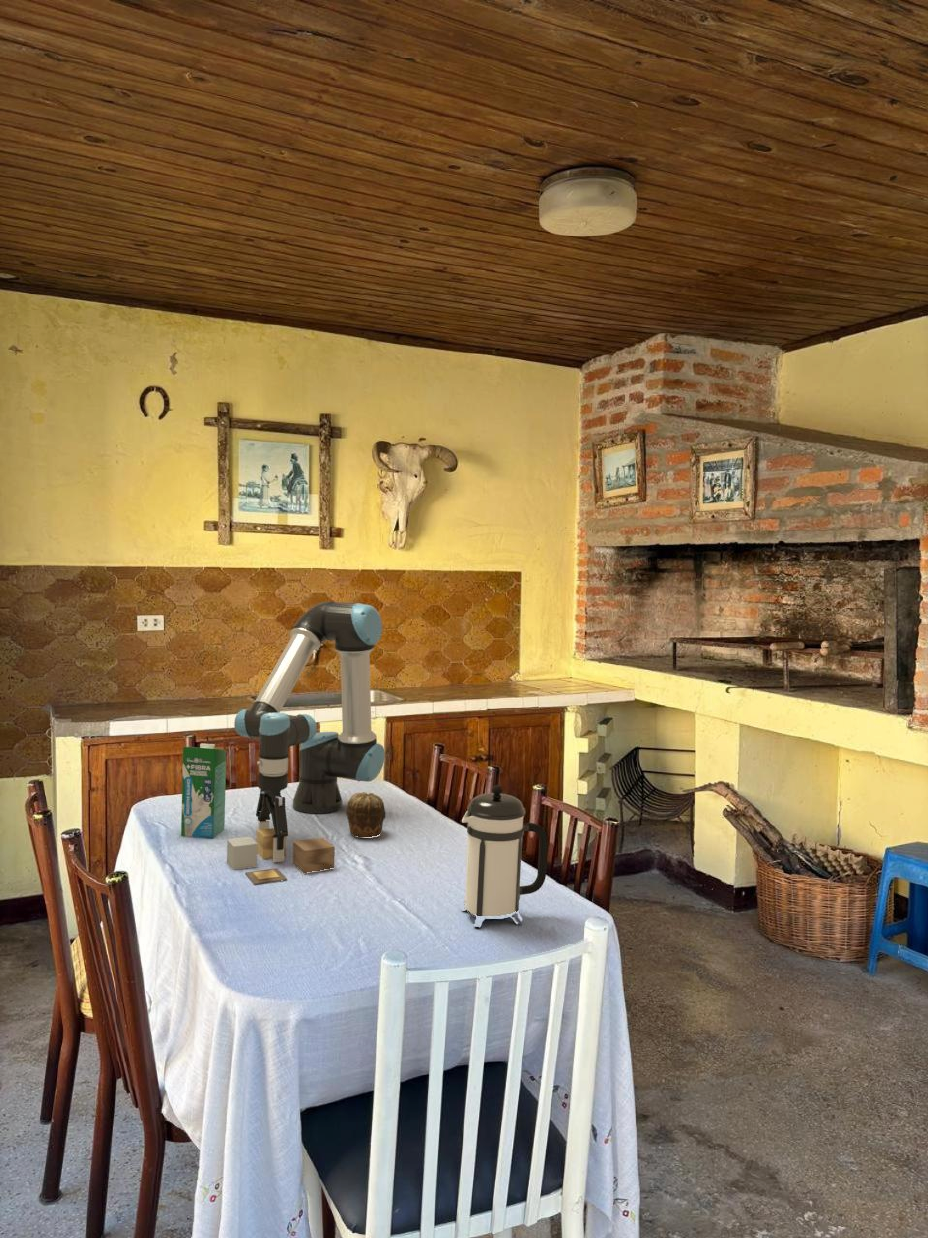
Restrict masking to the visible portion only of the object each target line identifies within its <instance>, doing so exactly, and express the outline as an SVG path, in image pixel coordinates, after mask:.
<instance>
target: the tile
mask: <svg viewBox="0 0 928 1238" xmlns="http://www.w3.org/2000/svg"><path fill="white" fill-rule="evenodd" d="M245 875H246V877H247V878H248V879H249V880H250V881H251V883H252V884H253V885H254V886H259V885H264V884H263V883H266V884H271V883H270V882H273V883H275V882H274V881H280V882H282V881H281V880H287V881H288V878H287V877H286V876H285V875H284V873H282V872H281V870H280V869H279V868H278V867H277V868H270V869H269V868H268V869H261V870H254V871H245ZM267 882H269V883H267ZM258 884H259V885H258Z"/></svg>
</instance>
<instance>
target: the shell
mask: <svg viewBox="0 0 928 1238" xmlns="http://www.w3.org/2000/svg"><path fill="white" fill-rule="evenodd" d="M385 818H386V809H385V803H384V801H383V799H382V797H380V796H379V795H378V794H374V793H372V792H369V793H367V792H364V791H363V792H356V793H354V794H353V795H351V797H350V798H349V800H348V801H347V806H346V819H347V820H348V821H347V822H348V827H349V833H350V834H351V835H352V834H353V835H354V836H353V835H352V836H353V837H355V836H358V837H372V836H377V835H379V834H380V833H382V831H383V824H384V820H385ZM380 835H381V834H380Z"/></svg>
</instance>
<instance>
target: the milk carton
mask: <svg viewBox="0 0 928 1238" xmlns="http://www.w3.org/2000/svg"><path fill="white" fill-rule="evenodd" d="M215 747H216V744H214V743H213V744H212V743H200V745H199V747H196V746H183V747H182V773H181V774H182V776H181V777H182V779H181V781H182V782H181V784H182V785H181V819H180V820H181V821H180V822H181V823H180V825H181V826H180V828H181V830H180V836H181V837H185V838H186V837H188V838H199V839H201V838H202V839H214V838H215V837H216V836H217V835H219V833H221V832H223V830H225V827H226V826H225V821H226V820H225V819H226V815H225V814H226V785H227V784H226V782H227V781H226V779H227V749H220V748H215Z"/></svg>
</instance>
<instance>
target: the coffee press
mask: <svg viewBox="0 0 928 1238" xmlns="http://www.w3.org/2000/svg"><path fill="white" fill-rule="evenodd" d="M503 790H504V789H503V788H502V786H501V785H499V784H495V785H494V786H492V788H491V791H492V792H488V793H482V794H478V795H477V796H475V797H473V798H472V799H471V800H470V803H469V804H468V805H467V809H466V812H465V814H464V815H463V817H462V819H461V822H462V823H466V827H467V828H466V833H467V848H466V850H467V852H466V870H465V889H464V891H465V894H464V898H465V899H464V902H465V904H464V908H465V909H467V911H466V912H468V911H469V912H470V913H472V914H476V915H477V916H501V915H506V914H511V913H513V912H515V911H516V912H517V911H518V910H519V911H520V909H519V907H520V899H521V896H522V895H528V894H533V893H536V892H537V891H539V890H540V889H541V888H542V887H543V885H544V883H545V881H546V877H547V868H548V845H549V844H548V837H547V834H546V831H545V830H544V828H543V827H542V826H541V825H539V824H537V823H534V822H527V823H524V817H525V816H526V808H525V807H524V805H523V802H522V801H521V800H520V799H519V798H517V797H515V796H513V795H510V794H507V793H506V794H505V793H502V792H503ZM527 831H528V832H533V833H535V834H536V835H537V837H538V859H537V862H538V863H537V875H536V879H535V880H534V882H532V883H531V884H529V885H528V884H527V885H522V886H521V873H522V872H521V871H522V870H521V869H522V849H523V836H524V833H525V832H527ZM469 912H468V913H469ZM470 913H469V914H470Z"/></svg>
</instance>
